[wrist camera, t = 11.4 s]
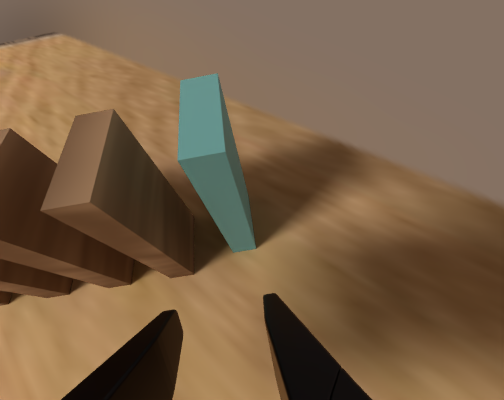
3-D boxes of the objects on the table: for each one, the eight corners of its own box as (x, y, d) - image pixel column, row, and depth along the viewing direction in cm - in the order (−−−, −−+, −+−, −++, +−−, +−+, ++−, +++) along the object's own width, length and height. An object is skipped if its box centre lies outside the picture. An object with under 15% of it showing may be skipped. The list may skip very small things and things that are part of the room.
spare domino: (248, 195, 19) (217, 73, 10) (256, 248, 16) (225, 151, 8) (228, 198, 19) (180, 80, 10) (233, 252, 16) (177, 160, 8)
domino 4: (193, 216, 18) (113, 108, 10) (194, 274, 16) (89, 201, 7) (173, 219, 18) (75, 115, 10) (171, 278, 16) (40, 210, 7)
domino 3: (138, 225, 18) (10, 128, 10) (130, 284, 16) (-45, 225, 7) (118, 229, 18) (-27, 135, 10) (108, 287, 16) (-92, 233, 8)
